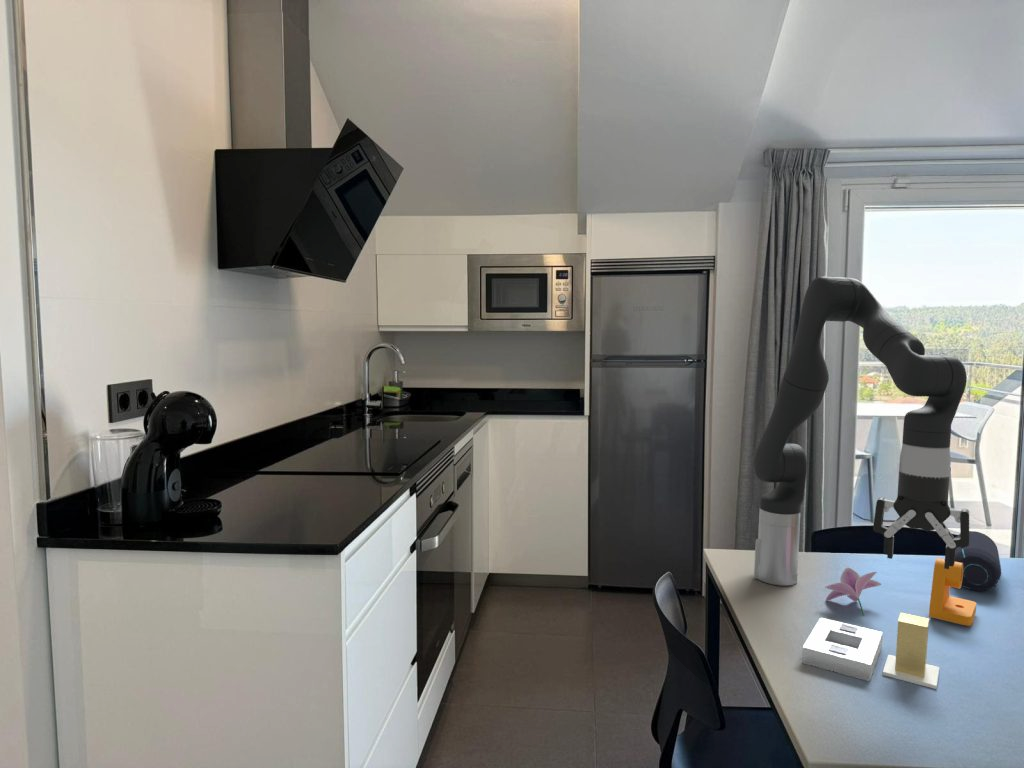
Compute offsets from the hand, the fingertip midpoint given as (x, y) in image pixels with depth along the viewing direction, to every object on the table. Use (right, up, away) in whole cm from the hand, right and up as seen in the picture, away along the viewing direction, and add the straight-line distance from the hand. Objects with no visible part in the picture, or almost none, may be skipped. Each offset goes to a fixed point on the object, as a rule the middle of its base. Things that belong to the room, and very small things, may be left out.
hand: (918, 562), depth 118 cm
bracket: (+23, -19, +26) cm, 39 cm away
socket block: (-9, -19, +8) cm, 23 cm away
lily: (+4, -18, +30) cm, 35 cm away
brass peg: (0, -19, +1) cm, 19 cm away
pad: (0, -20, +1) cm, 20 cm away
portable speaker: (+43, -17, +49) cm, 68 cm away
